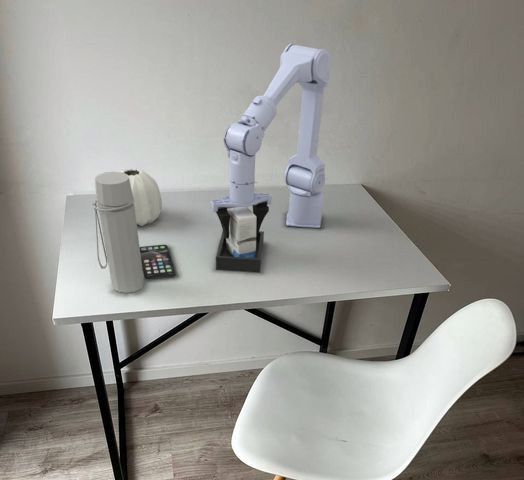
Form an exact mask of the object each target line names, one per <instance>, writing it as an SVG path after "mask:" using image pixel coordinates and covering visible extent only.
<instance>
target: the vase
mask: <svg viewBox="0 0 524 480" xmlns="http://www.w3.org/2000/svg"><path fill="white" fill-rule="evenodd" d="M120 172H122V173H124V174H127V175H128V177H129V180H130V185H131V189H132V194H133V197H134V202H133V203H134V206H135V214H136V222H137V226H140V227H143V226H144V225H147V224H152V223H154V221H155V220H156V219H157V218H158V217H160V215H161V211H162V208H163V200H162V194H161V191H160V188H159V184H158V183H157V181H156V179H155V178H153V177H152V176H151V175H150V174H149V173H147V172H145V171H143V170H141V169H139V168H126V169H124V170H122V171H120Z"/></svg>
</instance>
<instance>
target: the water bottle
mask: <svg viewBox="0 0 524 480" xmlns="http://www.w3.org/2000/svg"><path fill="white" fill-rule="evenodd" d="M94 185H95V199H96V200H95V201H92V204H91V205H92V207H93V209H94V214H95V216H94V217H95V233H96V253H97V255H96V256H97V261H98V265H99V266H100V268H101V269H103V270H104V269H106V268H107V267H108V269H109V270H108V271H109V276H110V281H111V286H112V289H114V290H115V291H117V292H119V293H122V294H123V293H125V294H129V293H135V292H137V291H139V290H141V289H142V287H143V286H144V283H145V280H144V279H145V278H144V275H143V270H142V262H141V254H140V247H141V246H140V240H139V239H140V238H139V232H138V225H137V222H136V214H135V206H134V203H133V202H134V197H133V194H132V189H131V185H130V180H129V177H128V175H127V174H124V173H122V172H121V171H107V172H103V173H99V174H98V175H96V176H94ZM98 212H99V213H98ZM99 218H100V219H99ZM100 223H101V224H100ZM98 229H99V233H100V238H101V243H102V248H103V253H104V259H105V263H106V264H105V265H102V263H101V260H100V255H99V254H100V252H99V238H98Z"/></svg>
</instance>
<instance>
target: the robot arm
mask: <svg viewBox="0 0 524 480" xmlns="http://www.w3.org/2000/svg"><path fill="white" fill-rule="evenodd" d="M279 58H280V59H279V68H278V70H277V72H276V74H275V75H274V77H273V79H272V80H271V81H270V84H269V86H268V87H267V89H266V90H265V92H264V94H263V95H257V96H255V98H253V100H252V101H251V103H250V104H249V105H248V107H247V108H246V110H245V112H243V114H242V115H241V117H240V118H239V119H238V121H236V122H233V123H231V124H230V125H228V126H227V128H226V129H225V132H224V137H223V145H224V147H225V149H226V156H227V158H228V159H229V173H228V174H229V178H228V179H229V195H227V196H223V197H220V198H217V199H212V200H210V210H211V211H212V212H213V213H216V215H217V217H218V220H219V222H220V226H221V229H222V231H223V234H224V236H225V238H226V239H228V238H229V222H230V217H231V216H230V214H229V213H228V210H227V209H229V208H237V207H248V208H249V207H252V213H253V214H254V215H255V216H256V234H259V231H260V229H261V227H262V224H263V222H264V220H265V217H266V216H267V214H268V213H269V211H270V207H269V205H272V204H273V202H272V201H273V195H271V194H270V193H267V192H266V193H255V183H256V181H255V180H256V155H257V153H258V152H260V149H261V147H262V143H263V139H264V137H265V132H266V131H267V129H268V127H269V126H270V125H271V123H272V122H273V121H274V119H275V117H276V116H277V114H278V112H277V106H278V104H279V103H280V102H281V101H282V99H283V98H285V96H286V95H287V94H288V93H289V91H290V90H291V89H292V88H293V87H294V85H296V84H297V83H298V84H299V86H300V87H301V88H302V94H301V95H302V96H301V105H300V116H299V123H298V136H297V143H296V144H297V146H296V153H295V154H294V155H292V156H291V157H290V158H289V159H288V160H287V166H286V168H285V172H284V183H285V184H286V185H287V190H289V199H288V201H289V202H288V212H286V221H285V222H286V223H285V226H287V227H296V228H297V227H299V228H314V229H321V223H322V219H323V207H324V199H325V198H324V196H325V194H324V193H325V192H324V191H322V190H323V188H324V187H325V182H326V175H325V163H324V162H323V160H322V159H321V158H320V157H319V156H318V146H319V137H320V130H321V122H322V114H323V107H324V106H323V105H324V99H325V98H324V97H325V89H326V88H327V87H328V86H329V81H330V73H331V65H332V57H331V56H330V54H329V52H328V51H327V50H326V49H324V48H321V49H320V48H315V47H309V46H304V45H298V44H295V43H289V44H288V45H287V46H286V47H285V48H284V50H283V51H282V53H281V54H280V57H279Z"/></svg>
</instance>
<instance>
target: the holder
mask: <svg viewBox="0 0 524 480" xmlns="http://www.w3.org/2000/svg"><path fill="white" fill-rule="evenodd" d="M264 238H265V231H264V230H263V231H260V230H259V234H256V258H246V257H233V256H232V255H231V253H230V252H229V251H228V250H227V249H226V238H225V236H224V234H223V230H222V231H221V235H220V239H219V243H218V246H217V251H216V255H215V269H216V271H227V272H230V271H231V272H243V273H245V272H246V273H256V274H257V273H261V266H262V260H263V259H262V258H263V251H264V240H265V239H264Z"/></svg>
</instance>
